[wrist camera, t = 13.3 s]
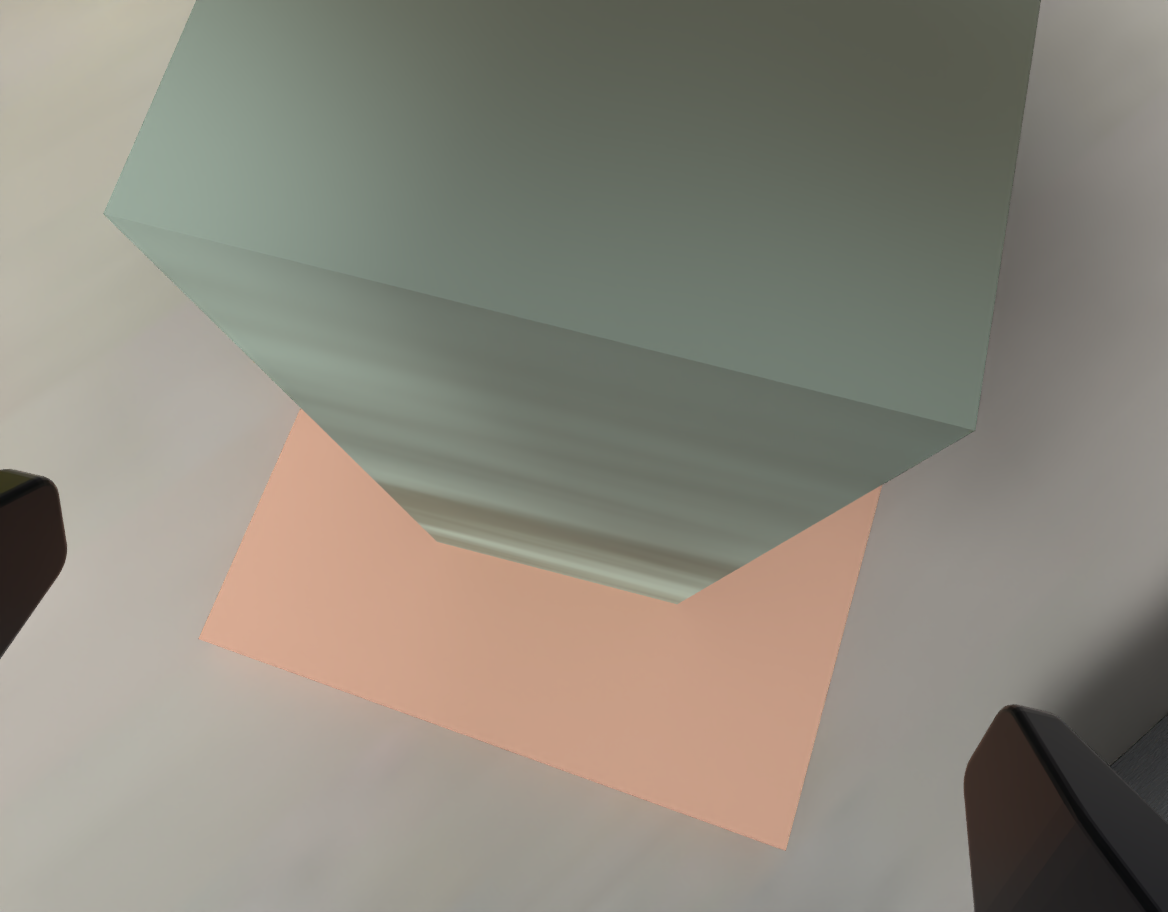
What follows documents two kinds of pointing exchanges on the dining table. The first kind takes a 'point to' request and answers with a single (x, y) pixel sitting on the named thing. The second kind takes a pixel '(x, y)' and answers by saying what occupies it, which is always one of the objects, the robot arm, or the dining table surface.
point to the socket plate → (1148, 767)
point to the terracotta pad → (550, 642)
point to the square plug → (599, 252)
